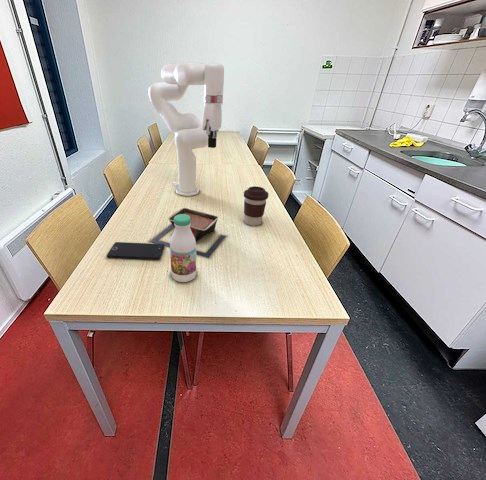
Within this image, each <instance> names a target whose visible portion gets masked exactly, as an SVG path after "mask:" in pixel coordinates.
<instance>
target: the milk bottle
mask: <svg viewBox="0 0 486 480" xmlns="http://www.w3.org/2000/svg"><path fill="white" fill-rule="evenodd" d="M174 225H175V230H174V231H173V233H172V235H171V237H170V241H169V243H170V247H169V255H170V256H169V257H170V273H171V277H172V279H173V280H174V281H176V282H180V283H188V282H191V281H192V280H194V279H195V278H196V276H197V254H196V251H197V242H196V241H195V237H194V235H193V233H192V231H191V229H190V225H191V218H190V216H189V215H186V214H179V215H176V216H175V217H174Z"/></svg>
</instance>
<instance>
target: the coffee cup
mask: <svg viewBox="0 0 486 480" xmlns="http://www.w3.org/2000/svg"><path fill="white" fill-rule="evenodd" d="M269 196H270V195H269V192H268V191H266V189H265V188H264V187H261V186H258V185H257V186H254V185H253V186H249V187H248V188H247V189H245V190H244V191H243V197H244V200H243V201H244V203H243V214H244V216H243V218H244V219H243V221H244V224H246V225H248V226H253V227H255V226H260V225H261V224H262V221H263V216H264V214H265V210H266V205H267V200H268V199H269Z"/></svg>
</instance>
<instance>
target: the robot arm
mask: <svg viewBox="0 0 486 480" xmlns="http://www.w3.org/2000/svg"><path fill="white" fill-rule="evenodd" d="M160 75H161V78H162V80H163V81H162V82H161V81H159V82H154V83H152V84H151V85H150V86H149V88H148V97H149V101H150V105H151V106H152V108H153V109H154V110H155V112H156V113H157V114H158V115H159V117H161V118H162V120H163V122H164V123H165V125H166V126H167V128H168V129H169V131H170V132H171V133H172V134H173V135H174V144H175V150H176V156H177V157H176V158H177V181H173V182H172V187H175V188H176V189H175V193H176V194H177V195H179V196H183V197H191V196H196V195H198V194H199V193H200V189H199V187H197V157H196V154H195V153H194V152H193V150H198V149H203V148H206V147H208V148H210V149H215V148H217V137H218V132H219V130H220V129H221V128H222V119H223V118H222V117H223V116H222V114H223V113H222V112H223V111H222V110H223V109H222V105H223V102H224V81H225V66H224V64H222V63H217V62H216V63H214V62H213V63H212V62H210V63H202V62H170V63H169V62H168V63H166V64H164V65H163V67H162V68H161V71H160ZM189 86H203V87H204V89H203V109H202V121H201V120H200V118H199V117H198V116H197V115H196V114H194V113H191V112H190V113H189V112H188V113H181V112H179V111H178V109H177V108H176V106H174V104H173V103H171V102H179V101H181V100H182V99H183V98H184V96H185V93H186V92H187V90H188V88H189Z"/></svg>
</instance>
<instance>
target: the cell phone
mask: <svg viewBox="0 0 486 480" xmlns="http://www.w3.org/2000/svg"><path fill="white" fill-rule="evenodd" d="M164 249H165V246H164V244H157V243H151V242H150V243H148V242H124V241H115V242H114V244H113V245H112V246H111V248H110V249H109V251H108V252H107V253H106V257H107V258H114V259H133V260H134V259H135V260H136V259H137V260H157V261H159V260H161V257H162V255H163V252H164Z"/></svg>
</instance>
